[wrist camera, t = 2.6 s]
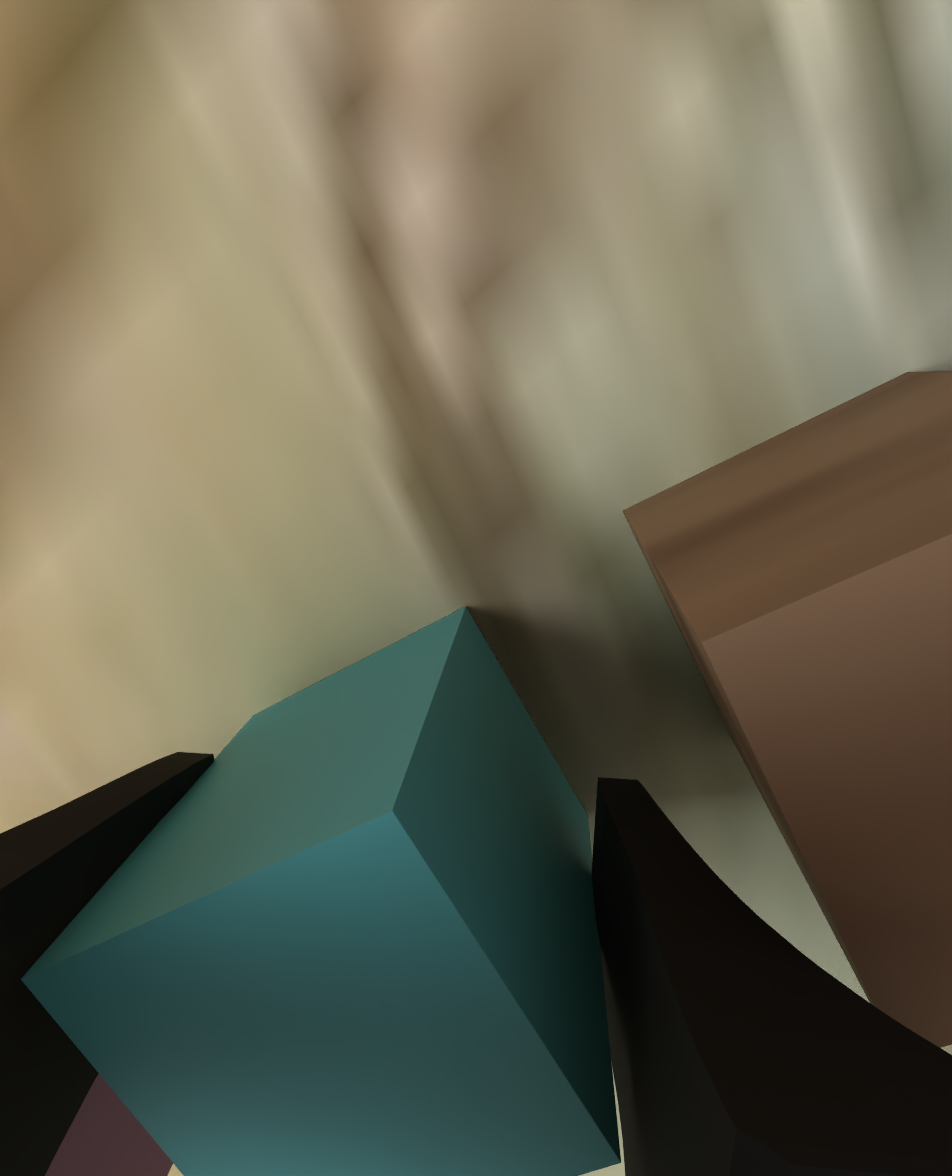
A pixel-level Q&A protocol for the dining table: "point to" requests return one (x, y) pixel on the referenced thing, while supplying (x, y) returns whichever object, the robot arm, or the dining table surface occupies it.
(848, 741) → the walnut block
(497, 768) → the teal block
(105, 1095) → the plum block
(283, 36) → the dining table surface
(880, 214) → the dining table surface
